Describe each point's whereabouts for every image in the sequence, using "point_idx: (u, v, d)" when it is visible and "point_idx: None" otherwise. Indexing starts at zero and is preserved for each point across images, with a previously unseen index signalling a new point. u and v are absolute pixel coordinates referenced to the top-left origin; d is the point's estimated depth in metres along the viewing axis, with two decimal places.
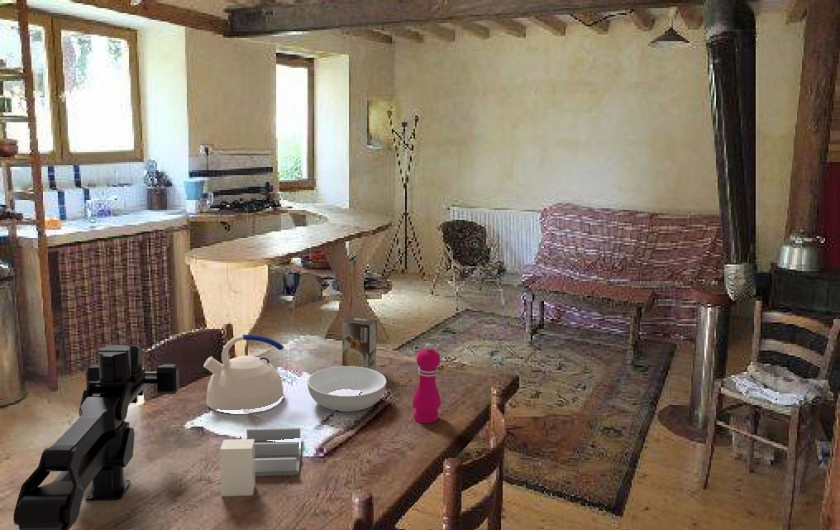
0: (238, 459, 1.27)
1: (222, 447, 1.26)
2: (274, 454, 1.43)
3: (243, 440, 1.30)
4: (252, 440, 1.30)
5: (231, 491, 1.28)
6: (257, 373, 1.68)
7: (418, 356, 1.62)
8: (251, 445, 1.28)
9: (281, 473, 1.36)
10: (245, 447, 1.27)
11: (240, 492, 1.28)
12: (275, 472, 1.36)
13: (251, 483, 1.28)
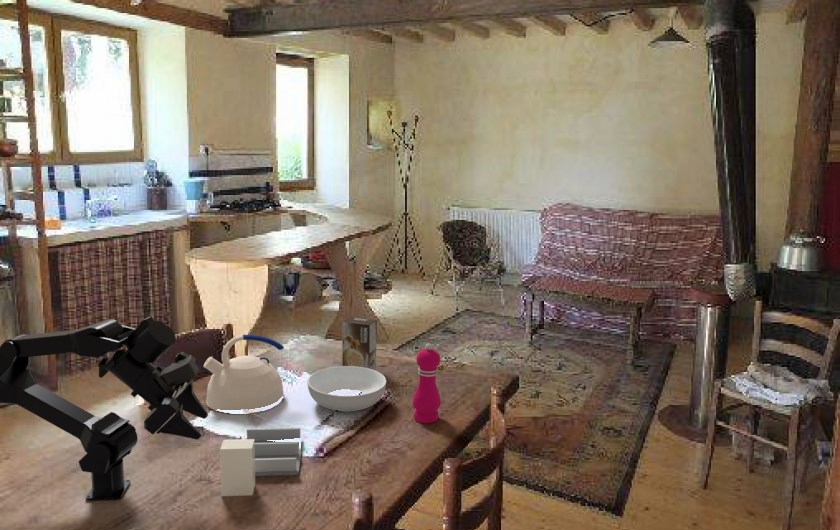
0: (238, 459, 1.27)
1: (222, 447, 1.26)
2: (274, 454, 1.43)
3: (243, 440, 1.30)
4: (252, 440, 1.30)
5: (231, 491, 1.28)
6: (257, 373, 1.68)
7: (418, 356, 1.62)
8: (251, 445, 1.28)
9: (281, 473, 1.36)
10: (245, 447, 1.27)
11: (240, 492, 1.28)
12: (275, 472, 1.36)
13: (251, 483, 1.28)
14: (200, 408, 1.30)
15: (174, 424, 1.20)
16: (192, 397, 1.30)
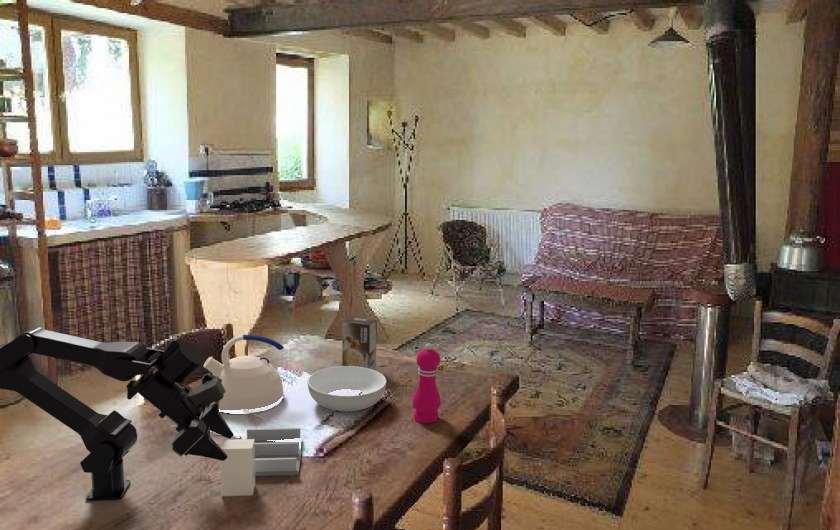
0: (238, 459, 1.27)
1: (222, 447, 1.26)
2: (274, 454, 1.43)
3: (243, 440, 1.30)
4: (252, 440, 1.30)
5: (231, 491, 1.28)
6: (257, 373, 1.68)
7: (418, 356, 1.62)
8: (251, 445, 1.28)
9: (281, 473, 1.36)
10: (245, 447, 1.27)
11: (240, 492, 1.28)
12: (275, 472, 1.36)
13: (251, 483, 1.28)
14: (226, 428, 1.32)
15: (201, 446, 1.21)
16: (218, 417, 1.31)
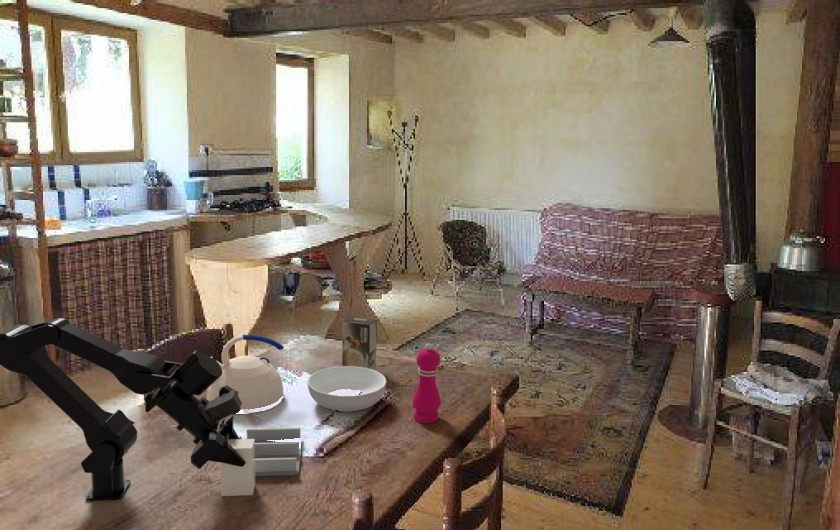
0: None
1: None
2: (274, 454, 1.43)
3: (243, 440, 1.30)
4: (252, 440, 1.30)
5: (231, 491, 1.28)
6: (257, 373, 1.68)
7: (418, 356, 1.62)
8: (251, 444, 1.28)
9: (281, 473, 1.36)
10: (245, 447, 1.27)
11: (240, 492, 1.28)
12: (275, 472, 1.36)
13: (251, 483, 1.28)
14: None
15: (220, 452, 1.24)
16: (232, 434, 1.30)
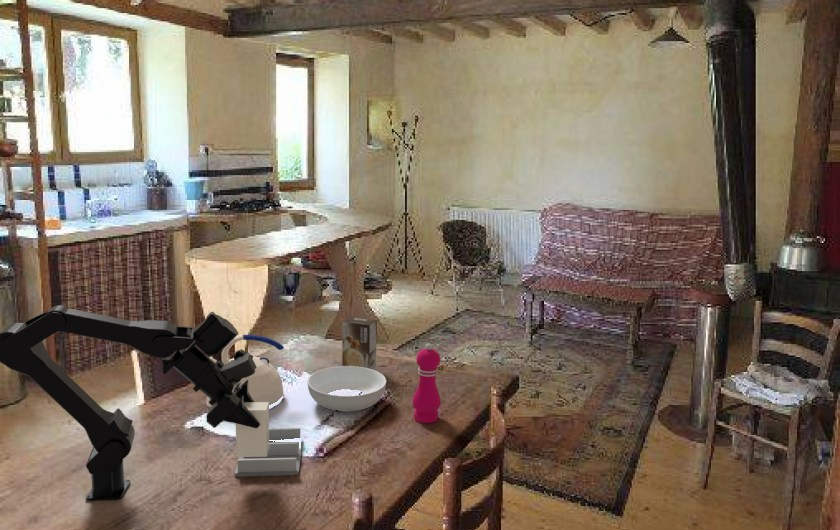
0: None
1: None
2: (274, 454, 1.43)
3: (258, 403, 1.33)
4: (266, 403, 1.33)
5: (246, 452, 1.31)
6: (257, 373, 1.68)
7: (418, 356, 1.62)
8: (266, 407, 1.31)
9: (281, 473, 1.36)
10: (260, 409, 1.30)
11: (255, 453, 1.31)
12: (275, 472, 1.36)
13: (265, 444, 1.31)
14: None
15: (235, 413, 1.27)
16: (247, 397, 1.33)
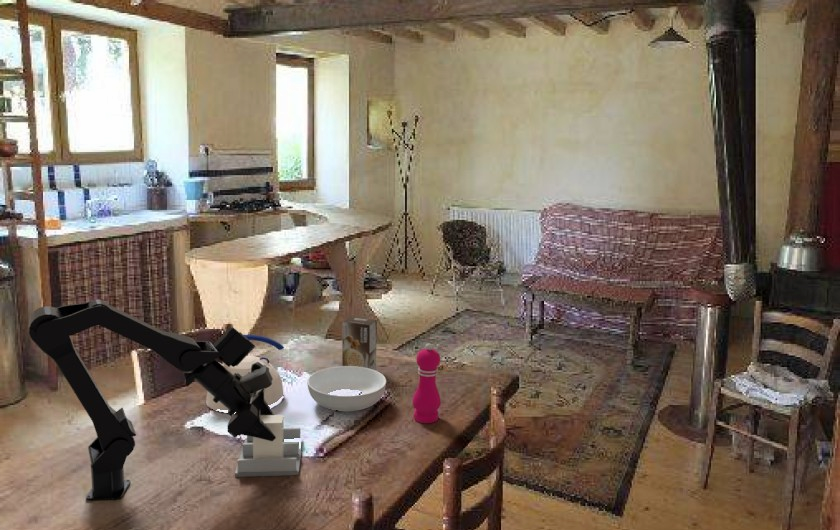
0: None
1: None
2: None
3: (273, 416, 1.39)
4: (281, 416, 1.39)
5: None
6: None
7: (418, 356, 1.62)
8: (281, 420, 1.38)
9: (281, 473, 1.36)
10: (276, 422, 1.36)
11: None
12: (275, 472, 1.36)
13: (281, 455, 1.38)
14: (271, 414, 1.42)
15: (253, 427, 1.32)
16: (264, 404, 1.41)
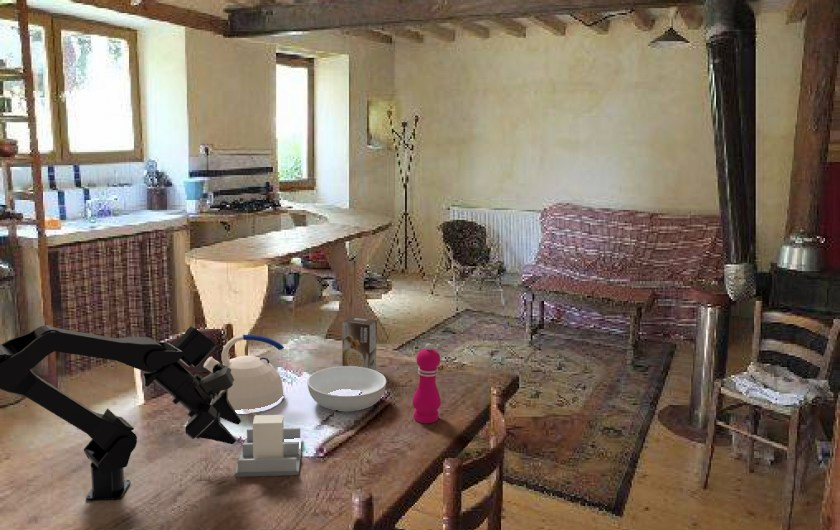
0: (269, 433, 1.36)
1: (254, 422, 1.36)
2: None
3: (273, 416, 1.39)
4: (281, 416, 1.39)
5: None
6: (257, 373, 1.68)
7: (418, 356, 1.62)
8: (281, 420, 1.38)
9: (281, 473, 1.36)
10: (276, 422, 1.36)
11: None
12: (275, 472, 1.36)
13: (281, 455, 1.38)
14: (234, 415, 1.41)
15: (212, 430, 1.30)
16: (227, 404, 1.41)
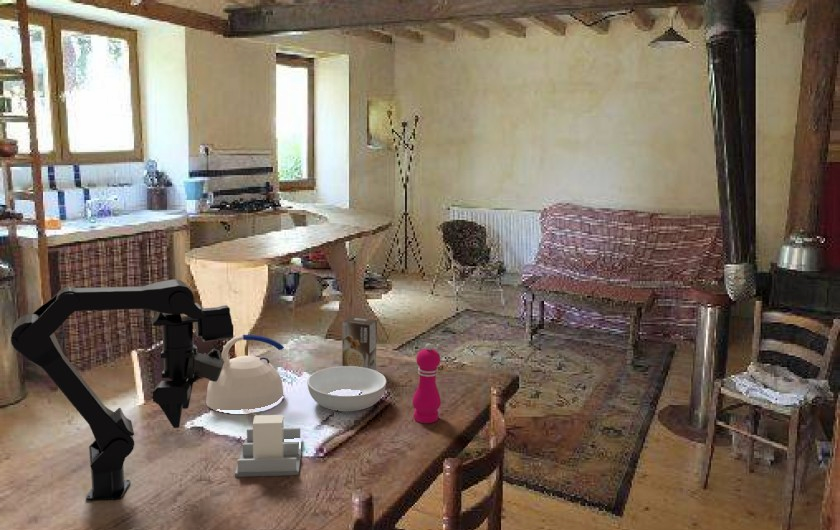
0: (269, 433, 1.36)
1: (254, 422, 1.36)
2: None
3: (273, 416, 1.39)
4: (281, 416, 1.39)
5: None
6: (257, 373, 1.68)
7: (418, 356, 1.62)
8: (281, 420, 1.38)
9: (281, 473, 1.36)
10: (276, 422, 1.36)
11: None
12: (275, 472, 1.36)
13: (281, 455, 1.38)
14: (188, 398, 1.36)
15: (171, 404, 1.25)
16: (190, 386, 1.36)
